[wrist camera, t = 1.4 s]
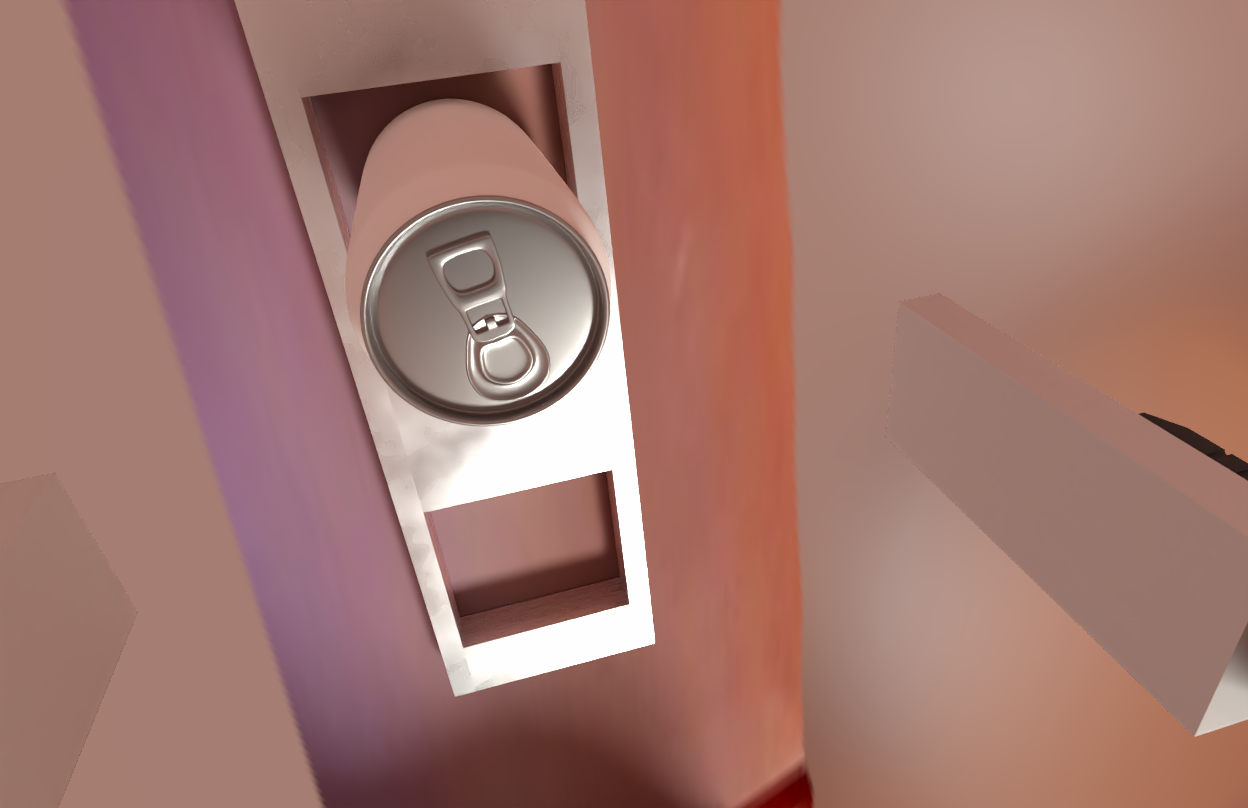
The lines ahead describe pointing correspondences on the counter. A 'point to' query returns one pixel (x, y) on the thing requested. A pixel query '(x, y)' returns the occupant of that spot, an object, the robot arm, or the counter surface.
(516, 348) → the can
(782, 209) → the counter surface
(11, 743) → the robot arm
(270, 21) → the holder
